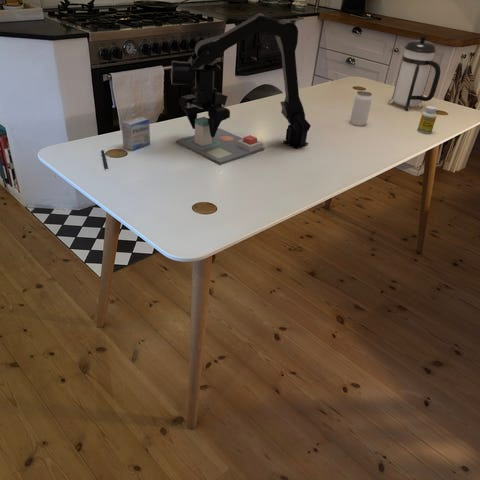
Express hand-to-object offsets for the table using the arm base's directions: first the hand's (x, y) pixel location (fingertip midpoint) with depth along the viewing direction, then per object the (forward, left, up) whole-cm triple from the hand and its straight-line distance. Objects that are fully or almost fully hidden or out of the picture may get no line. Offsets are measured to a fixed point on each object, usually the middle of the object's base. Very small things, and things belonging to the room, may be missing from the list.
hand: (203, 132), depth 153 cm
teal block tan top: (0, 0, -4) cm, 4 cm away
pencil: (+9, +32, -5) cm, 33 cm away
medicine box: (+12, +18, -5) cm, 22 cm away
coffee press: (-20, -104, -4) cm, 106 cm away
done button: (-11, -10, -2) cm, 16 cm away
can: (-19, -65, -4) cm, 68 cm away
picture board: (-4, -4, -4) cm, 7 cm away
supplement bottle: (-40, -80, -4) cm, 90 cm away
